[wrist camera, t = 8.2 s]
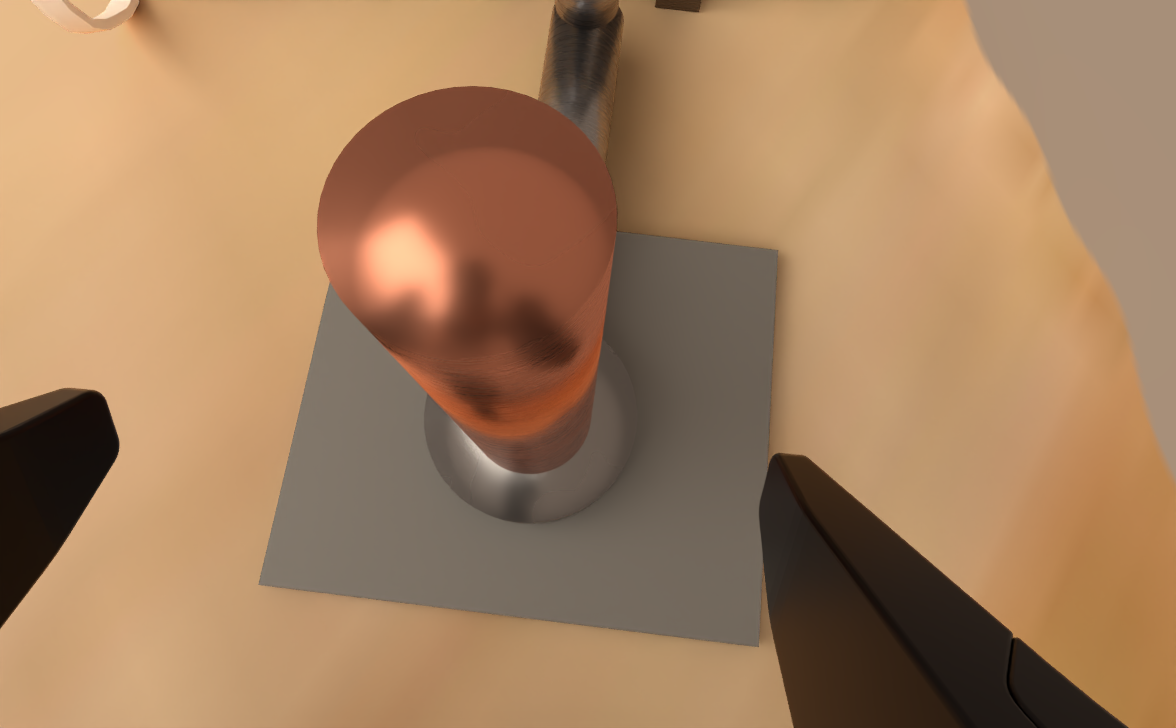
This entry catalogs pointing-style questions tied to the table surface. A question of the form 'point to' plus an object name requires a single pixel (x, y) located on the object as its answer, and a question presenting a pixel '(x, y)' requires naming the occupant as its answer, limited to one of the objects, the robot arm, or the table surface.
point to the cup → (74, 20)
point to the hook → (497, 272)
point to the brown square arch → (679, 4)
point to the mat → (591, 537)
